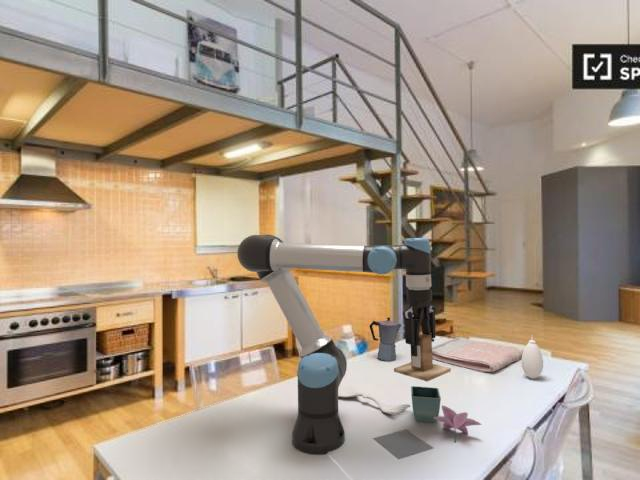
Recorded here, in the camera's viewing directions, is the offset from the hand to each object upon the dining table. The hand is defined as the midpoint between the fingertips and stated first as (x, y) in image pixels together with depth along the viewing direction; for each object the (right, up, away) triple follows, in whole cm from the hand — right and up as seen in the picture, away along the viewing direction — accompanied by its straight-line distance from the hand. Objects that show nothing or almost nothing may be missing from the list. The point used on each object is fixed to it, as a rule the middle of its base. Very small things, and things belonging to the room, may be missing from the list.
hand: (421, 364), depth 120 cm
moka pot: (+1, -19, +69) cm, 72 cm away
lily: (+8, -20, -6) cm, 22 cm away
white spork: (-15, -20, +18) cm, 31 cm away
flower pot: (+3, -20, +5) cm, 20 cm away
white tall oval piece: (+56, -19, +41) cm, 72 cm away
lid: (0, -2, 0) cm, 2 cm away
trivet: (-8, -19, -10) cm, 23 cm away
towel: (+44, -20, +70) cm, 84 cm away
